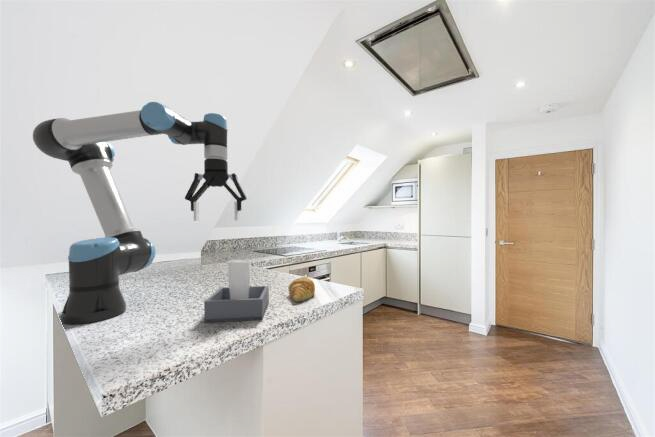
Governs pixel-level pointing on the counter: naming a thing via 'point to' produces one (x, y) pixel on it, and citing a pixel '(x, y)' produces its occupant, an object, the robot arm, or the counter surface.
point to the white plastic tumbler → (239, 278)
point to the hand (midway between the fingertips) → (216, 220)
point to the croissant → (301, 289)
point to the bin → (236, 305)
